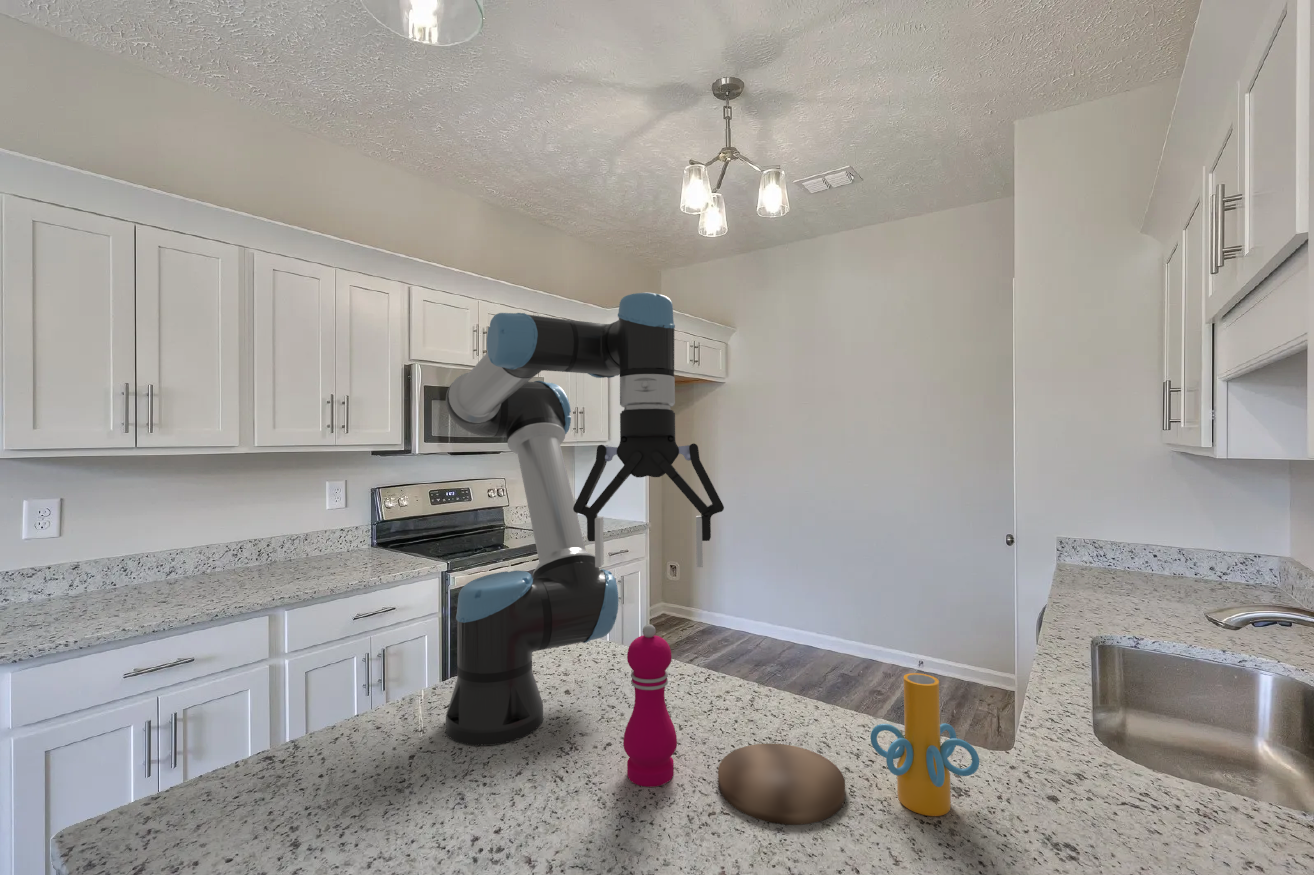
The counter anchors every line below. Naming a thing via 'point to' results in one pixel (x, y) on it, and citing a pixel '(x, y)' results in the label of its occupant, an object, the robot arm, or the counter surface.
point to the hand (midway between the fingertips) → (649, 565)
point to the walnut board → (781, 784)
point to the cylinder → (923, 750)
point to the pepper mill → (649, 713)
